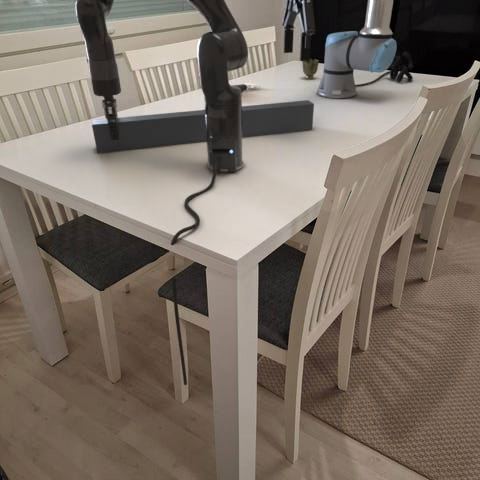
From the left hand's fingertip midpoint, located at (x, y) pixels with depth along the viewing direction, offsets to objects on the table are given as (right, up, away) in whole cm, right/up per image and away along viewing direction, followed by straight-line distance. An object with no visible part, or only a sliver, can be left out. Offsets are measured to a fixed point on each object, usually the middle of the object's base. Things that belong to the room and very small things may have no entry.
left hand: (115, 136), depth 131 cm
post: (+27, +1, +8) cm, 28 cm away
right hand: (+54, +24, +2) cm, 59 cm away
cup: (+69, +44, +75) cm, 111 cm away
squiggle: (+109, +41, +70) cm, 135 cm away
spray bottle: (+35, +30, +54) cm, 71 cm away
